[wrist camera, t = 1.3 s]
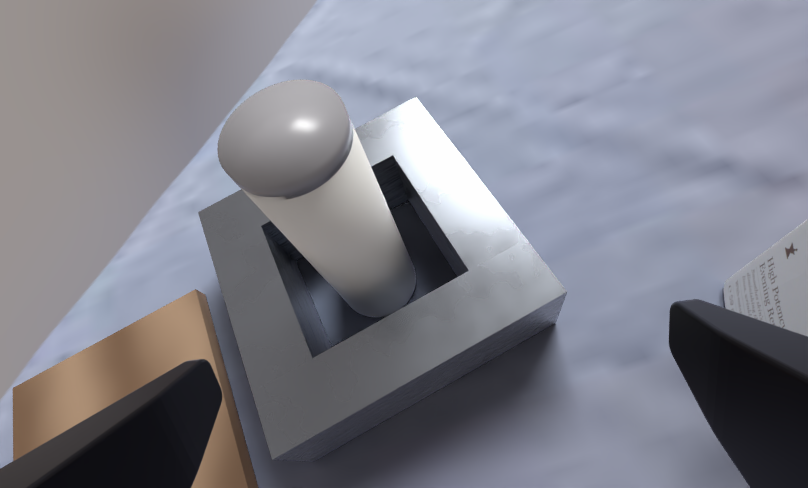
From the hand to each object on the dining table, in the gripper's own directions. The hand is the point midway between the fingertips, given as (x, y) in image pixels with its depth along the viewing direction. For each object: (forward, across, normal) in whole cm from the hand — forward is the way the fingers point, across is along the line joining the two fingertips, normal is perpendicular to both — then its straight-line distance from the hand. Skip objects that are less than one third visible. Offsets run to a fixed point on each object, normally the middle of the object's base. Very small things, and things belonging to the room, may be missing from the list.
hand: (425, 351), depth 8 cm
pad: (+10, +19, +10) cm, 24 cm away
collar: (+16, +4, +6) cm, 17 cm away
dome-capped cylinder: (+16, +4, +6) cm, 17 cm away
